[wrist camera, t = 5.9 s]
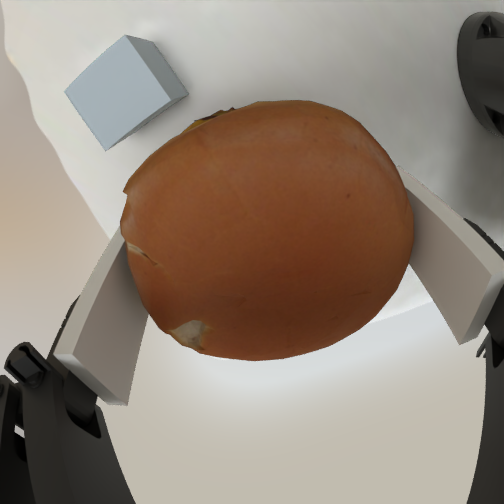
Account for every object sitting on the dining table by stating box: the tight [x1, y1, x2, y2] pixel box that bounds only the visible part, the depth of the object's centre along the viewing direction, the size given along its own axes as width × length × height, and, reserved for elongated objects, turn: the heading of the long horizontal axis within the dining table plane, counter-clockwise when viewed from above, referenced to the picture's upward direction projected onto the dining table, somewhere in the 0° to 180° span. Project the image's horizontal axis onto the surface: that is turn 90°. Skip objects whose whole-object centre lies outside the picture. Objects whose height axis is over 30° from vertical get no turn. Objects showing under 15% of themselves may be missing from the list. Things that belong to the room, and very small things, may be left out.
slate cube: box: [64, 35, 189, 151], centre depth 17 cm, size 6×6×6 cm
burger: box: [120, 100, 414, 361], centre depth 9 cm, size 10×9×5 cm
